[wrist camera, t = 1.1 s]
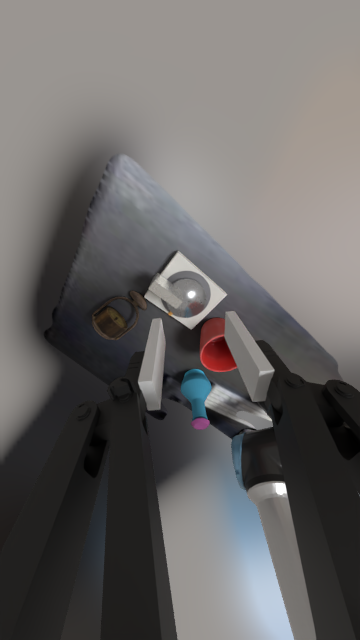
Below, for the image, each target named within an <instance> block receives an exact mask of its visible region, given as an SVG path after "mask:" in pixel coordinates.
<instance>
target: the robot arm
mask: <svg viewBox="0 0 360 640" xmlns="http://www.w3.org/2000/svg"><path fill="white" fill-rule="evenodd" d="M224 337H225V340H226V342H227V344H228V347H229V349H230V351H231V353H232V356H233V358H234V360H235V363H236V365H237V367H238V370H239V372H240V374H241V376H242V379H243V381H244V383H245V386H246V388H247V390H248V392H249V395H250V397H251V399H252V402H258V404H259V405H260V406H261V408H262V409H263V410H264V411H265V412H266V413H267V415H268V416H269V417H270V418H271V419H272V422H273V427H270V428H265V429H261V430H256V431H252V432H247V433H246V432H244V433H243V434H240V435H237V436H234V437H233V439H232V444H231V448H232V458H233V464H234V468H235V472H236V477H237V480H238V483H239V485H240V487H241V488H242V489H244V490H246V491H247V495H248V498H249V499H251V501H252V502H253V503H254V504H255V505H256V506H257V508H258V512H259V515H260V519H261V522H262V526H263V530H264V533H265V537H266V540H267V544H268V547H269V551H270V554H271V558H272V562H273V565H274V568H275V572H276V576H277V579H278V583H279V586H280V590H281V593H282V597H283V600H284V604H285V607H286V611H287V615H288V618H289V622H290V625H291V629H292V632H293V636H294V640H360V496H359V494H360V392H359V391H358V390H357V389H355V388H354V387H353V386H351V385H349V384H347V383H346V382H343V381H340V380H329V381H327V383H326V384H325V385H321V384H315V383H310V382H306V381H305V380H304V379H303V378H302V377H300V376H299V375H297V374H294V373H291V372H290V371H289V369H288V368H287V367H286V365H285V364H284V363H283V362H282V360H281V359H280V358H279V356H278V355H277V354H276V353H275V351H273V349H272V347H271V346H270V345H269V344H268V343H266V342H265V341H263V340H259V341H254V339H253V338H252V336H251V335H250V333H249V332H248V330H247V329H246V327H245V326H244V324H243V323H242V321H241V320H240V319H239V317H238V316H237V314H236V313H235V311H230V312H226V316H225V333H224ZM165 343H166V342H165V336H164V331H163V325H162V320H161V318H158V319H153V320H152V324H151V328H150V333H149V337H148V341H147V345H146V349H145V351H143V352H135V353H134V355H133V356H132V357H131V360H130V363H129V366H128V369H127V372H126V375H125V376H124V377H119V378H117V379H115V380H114V381H113V382H112V383H111V384H110V385H109V387H108V390H107V392H108V393H109V395H110V397H111V399H109V400H107V401H104V402H101V403H99V404H96V403H95V402H94V401H85V402H83V403H81V404H79V405H78V406H77V407H76V408H75V409H74V410H73V411H72V413H71V414H70V416H69V418H68V420H67V422H66V424H65V426H64V428H63V430H62V432H61V434H60V436H59V438H58V440H57V442H56V444H55V446H54V448H53V450H52V451H51V454H50V455H49V457H48V460H47V462H46V463H45V466H44V467H43V469H42V471H41V473H40V475H39V477H38V479H37V481H36V483H35V485H34V487H33V489H32V491H31V493H30V495H29V497H28V499H27V501H26V503H25V505H24V507H23V509H22V511H21V513H20V515H19V517H18V519H17V521H16V523H15V525H14V527H13V529H12V531H11V533H10V534H9V536H8V539H7V541H6V542H5V544H4V546H3V548H2V550H1V552H0V640H60V638H61V635H62V631H63V627H64V623H65V619H66V615H67V611H68V607H69V603H70V599H71V595H72V591H73V588H74V584H75V579H76V576H77V572H78V568H79V564H80V560H81V556H82V552H83V548H84V544H85V541H86V536H87V533H88V529H89V525H90V521H91V517H92V513H93V509H94V505H95V501H96V497H97V494H98V490H99V486H100V481H101V478H102V474H103V470H104V466H105V462H106V458H107V454H108V450H109V447H110V457H109V479H108V498H107V499H108V500H107V518H106V538H105V560H104V580H103V600H102V620H101V640H177V633H176V626H175V619H174V612H173V605H172V598H171V590H170V583H169V576H168V568H167V561H166V554H165V547H164V540H163V533H162V525H161V518H160V511H159V504H158V496H157V490H156V482H155V476H154V468H153V461H152V453H151V446H150V439H149V431H148V424H147V418H146V415H145V412H146V406H147V409H148V410H160V405H161V393H162V380H163V368H164V356H165ZM357 491H358V492H357ZM358 493H359V494H358Z"/></svg>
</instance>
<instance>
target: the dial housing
mask: <svg viewBox="0 0 360 640" xmlns="http://www.w3.org/2000/svg"><path fill="white" fill-rule="evenodd" d="M160 275H161V276H162V277H164V278H165V279H166V280H168V281H169V282H170V283H171V284H172V283H173V282H174V281H176V280H178V279H181V278H192V279H195V280H197V281H198V282H199V283H200V284H201V285H202V286H203V288H204V290H205V293H206V298H207V300H206V305H205V307H204V309H203V310H202V311H201V312H200V313H199V314H197V315H196V316H193V317H190V318H182V317H178V316H176V315H174V314H173V313H172V312H171V311H170V310H169V308H168V306H167V303H166V301H164V300H163V299H162V298H160V297H159V296H157V295H156V294H155V293H153V292H152V291H150V290H148V291H147V292H146V294H145V296H144V298H146V299H147V300H149V301H150V302H152V303H153V304H155V305H156V306H158V307H159V308H160V309H162V310H163V311H165V312H166V313H168V314H169V315H170V316H172V317H174V318H175V319H176V320H178V321H179V322H181V323H182V324H184V325H185V326H187V327H188V328H190V329H191V330H192V329H193V328H194V327H195V326H196V325H197V324H198V323H199V322H200V321H201V320H202V319H203V318H204V317H205V316H206V315H207V314H208V313H209V312H210V311H211V310H212V309H213V308H214V307H215V306H216V305H217V304H218V303H219V302H220V301H221V300H222V299H223V298H225V297H226V296H227V294H226V292H225V291H224V290H223V289H221V288H220V287H219V286H218V285H217V284H216V283H215V282H214V281H212V280H211V279H210V278H209V277H208V276H207V275H206V274H204V273H203V272H202V271H201V270H200V269H199V268H198V267H197V266H195V265H194V264H193V263H192V262H191V261H190V260H189V259H187V258H186V257H185V256H184V255H183V254H182V253H181V252H180V251H177V253H176V254H175V255H174V256H173V258H172V259H171V260H170V262H169V263H168V264H167V266H166V267H165V268H164V270H163V271H162V272H161V274H160Z"/></svg>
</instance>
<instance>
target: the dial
mask: <svg viewBox="0 0 360 640" xmlns="http://www.w3.org/2000/svg"><path fill="white" fill-rule="evenodd" d="M148 289H149V290H150V291H152V292H153V293H155V294H156V295H157V296H159V297H160V298H162V299H163V300H164V301H166V303H167V306H168V308H169V310H170V311H171V312H172V313H173V314H174V315H176V316H178V317H182V318H190V317H193V316H196V315H197V314H199V313H200V312H201V311H202V310H203V309H204V307H205V305H206V300H207V298H206V293H205V290H204V288H203V286H202V285H201V284H200V283H199V282H198V281H197V280H195V279H192V278H181V279H178V280H176V281H174V282H173V283H172V284H171V283H170V282H169V281H168V280H166V279H165V278H164V277H162V276H161V275H160V274H159V273H157V274H156V275H155V276H154V278H153V279H152V281H151V283H150V286H149V288H148Z"/></svg>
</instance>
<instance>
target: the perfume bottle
mask: <svg viewBox="0 0 360 640" xmlns="http://www.w3.org/2000/svg"><path fill="white" fill-rule="evenodd" d="M210 391H211V384H210V382H209V380H208V379H207V377H206V376H205V374H204V372H203V371H201V370H199V369H192V370H189V371H187V372H186V373H185V375H184V379H183V381H182V384H181V392H182V394H183V395H184V396H185V397H186V398H187V399H188V400H189V401H190V402H191V403H192V414H193V419H192V423H191V425H192V426H193V427H194V428H195V429H198V430H202V429H205V428H207V427H208V425H209V424H210V421H209V420H208V418H207V416H206V410H205V404H204V401H205V400H206V398H207V396H208V395H209V393H210Z"/></svg>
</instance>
